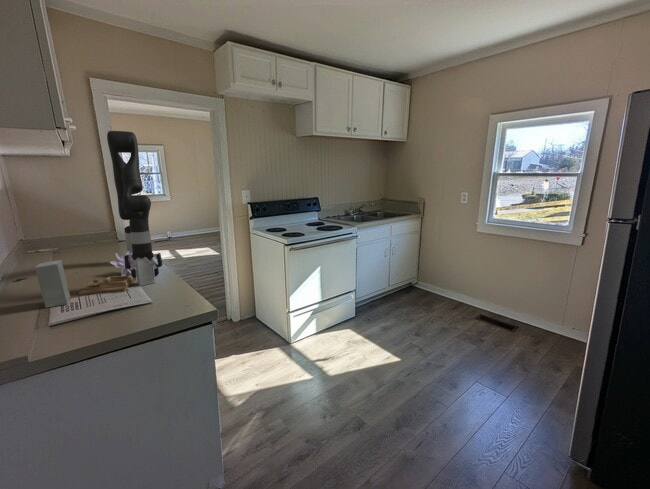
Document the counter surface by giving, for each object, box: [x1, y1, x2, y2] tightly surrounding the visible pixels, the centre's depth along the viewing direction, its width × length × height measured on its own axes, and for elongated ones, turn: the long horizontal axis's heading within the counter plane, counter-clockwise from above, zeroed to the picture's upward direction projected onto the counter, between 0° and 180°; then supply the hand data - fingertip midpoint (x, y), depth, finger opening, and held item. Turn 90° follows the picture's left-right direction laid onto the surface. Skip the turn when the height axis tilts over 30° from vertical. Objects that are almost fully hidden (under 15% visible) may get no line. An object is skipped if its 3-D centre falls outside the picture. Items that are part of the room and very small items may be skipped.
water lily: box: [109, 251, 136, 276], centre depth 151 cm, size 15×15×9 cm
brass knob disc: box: [87, 278, 102, 287], centre depth 130 cm, size 5×5×2 cm
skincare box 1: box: [34, 259, 71, 308], centre depth 113 cm, size 8×7×16 cm
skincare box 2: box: [135, 258, 156, 287], centre depth 135 cm, size 6×4×12 cm
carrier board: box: [78, 274, 137, 296], centre depth 131 cm, size 16×16×3 cm
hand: (145, 276), depth 136 cm, fingers open, 8 cm apart
